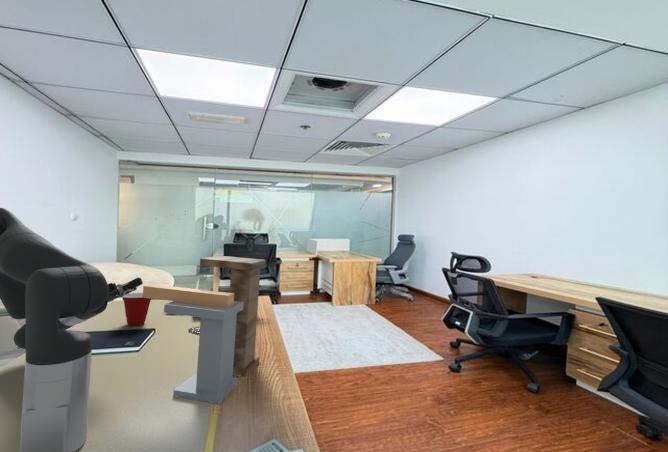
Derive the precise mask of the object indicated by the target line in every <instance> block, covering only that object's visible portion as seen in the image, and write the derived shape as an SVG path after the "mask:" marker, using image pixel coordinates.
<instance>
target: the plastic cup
mask: <svg viewBox="0 0 668 452" xmlns="http://www.w3.org/2000/svg"><path fill="white" fill-rule="evenodd" d="M121 298H122V300H123V305H124V311H125V312H124V314H125V318H126V324H127V326H129V327H138V326H143V325H144V324H145V322H146V319H147V315H148V312H149V309H150V303H151V301H152V299H151V298H143V292H131V293H129V294H127V295H125V296H123V297H121Z"/></svg>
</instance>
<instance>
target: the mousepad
mask: <svg viewBox="0 0 668 452" xmlns="http://www.w3.org/2000/svg"><path fill="white" fill-rule="evenodd" d="M192 328H194V327H191V328H189V329H187V330H188V331H189V332H188V333H190V332H192V330H193V329H192ZM195 331H196V332H195ZM197 332H200V329H199V331H198V329H195V328H194V331H193V333H196V334H195V335H198V334H199V335H200V333H197ZM193 333H192V334H193Z"/></svg>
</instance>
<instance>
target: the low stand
mask: <svg viewBox="0 0 668 452" xmlns="http://www.w3.org/2000/svg"><path fill="white" fill-rule="evenodd" d="M243 303H244V302H238V301H234V303H233V305H232V306H230V307H228V308H226V307H218V306H209V305H201V304H193V303H184V302H176V301H169V302H166V303H165V304H164V306H163V313H171V314H170V315H178V316H179V315H180V316H187V317H188V316H189V317H192V316H195V317H194V318H200V321H199V327H200V334H199V335H198V336H199V337H198V338H199V339H198V349H197V350H198V352H197V353H198V354H197V368H196V369H197V370H196V372H195V373H194V374H193V375H191V376H190V377H189V378H187V379H186V380H185V381H184V382H182V383H181V384H179V385H178V386H177V387H176V388H174V389H173V393H172V394H173V395H172V396H173V397H175V396H177V398H183V399H186V400H187V399H188V400H194V401H198V400H200V401H199V402H204V401H206V402H205V403H210V402H212V403H211V404H217V405H219V404H220V403H221V402H222V401H223V400H224V399H225V398H226V397H227V396H228V395H229V394H230V393H231V392H232V391H233V389H234V388H236V387H237V386H238V385H239V377H234V375H233V363H234V348H235V333H236V318H237V313H238V312H240V311H241V310H243Z"/></svg>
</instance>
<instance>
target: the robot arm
mask: <svg viewBox="0 0 668 452" xmlns="http://www.w3.org/2000/svg"><path fill="white" fill-rule="evenodd" d="M143 284H144V281H143V280H142V277H140V276H139V277H136V278H134V279H132V280H131V281H127V282H125V283H123V284H121V283H118V284H116V282H110V283H108V281H107V279H106V277H105V275H104V274H103V273H102V272H101V271H100V270H99V269H98V268H97V267H95V266H94V265H91V264H89V263H88V262H84V261H82V260H80V259H77V258H75V257H73V256H72V255H69V254H68V253H66V252H65V251H64V250H61V249H60V248H59V247H56V245H54V244H53V243H51V242H50V241H49V240H47V239H46V238H45V237H43V236H42V235H40V234H38V233H36V232H35V231H33V230H32V229H30V228H29V227H27V226H26V225H25V224H24V223H23V222H22V221H21V219H19V218H18V217H17V216H16V215H15V214H14V213H13V212H12V211H10V210H8V209H6V208H4V207H0V301H1V303H2V305H3V307H4V308H5V310H6V312H7V313H8V315H9V316H10V317H11V318H12V319H14V320H25V323H24V324H23V325H22V326H20V328H18V329H17V331H15V333H14V335H13V343H14V345H15V346H17V347H18V348H20V349H22V350H25V360H24V361H25V362H24V377H23V392H22V405H21V407H22V409H21V410H22V411H21V424H20V439H19V440H20V442H19V452H77V451H78V450H79V449H80V448H81V447H83V445H84V444H85V442H86V441H87V433H88V432H87V430H88V418H89V417H88V416H89V415H88V414H89V400H90V399H89V398H90V383H91V381H90V380H91V370H92V369H91V367H92V352H93V351H92V350H93V337H92V335H91V334H90V333H89V332H88V333H87V332H85V331H82V330H74V329H73V330H69V329H70V328H73V327H74V326H76V325H79V324H81V323H84V322H86V321H89V320H90V319H92V318H94V317H95V316H98V315H99V314H101V313H103V312H104V311H105V310H106V309H107V308H108V307H107V306H108V303H112V302H114V301H115V300H116V299H119V298H120V299H121V298H122V297H123V296H125V295H127V294H129V293H134V292H135V291H137V290H138V289H137V288H138V287H139V286H142V285H143Z"/></svg>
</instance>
